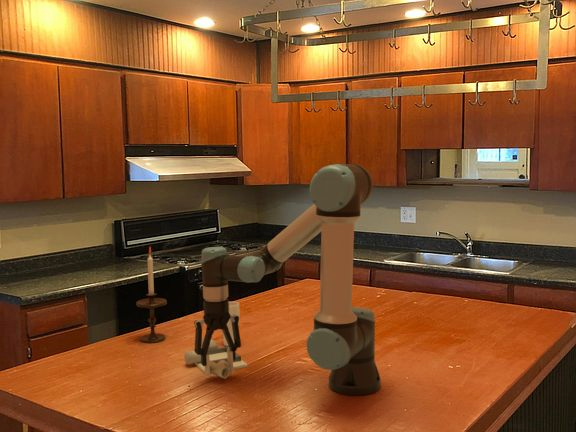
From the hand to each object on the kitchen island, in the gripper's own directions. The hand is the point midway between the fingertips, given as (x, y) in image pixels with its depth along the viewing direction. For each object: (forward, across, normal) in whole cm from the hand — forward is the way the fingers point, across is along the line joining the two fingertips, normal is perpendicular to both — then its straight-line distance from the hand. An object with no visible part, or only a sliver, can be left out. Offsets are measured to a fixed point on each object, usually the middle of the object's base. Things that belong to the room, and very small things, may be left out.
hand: (219, 373), depth 183 cm
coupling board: (+1, -3, -17) cm, 17 cm away
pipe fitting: (+1, -1, 0) cm, 1 cm away
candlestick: (+1, +7, -50) cm, 50 cm away
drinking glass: (+2, -16, -30) cm, 33 cm away
